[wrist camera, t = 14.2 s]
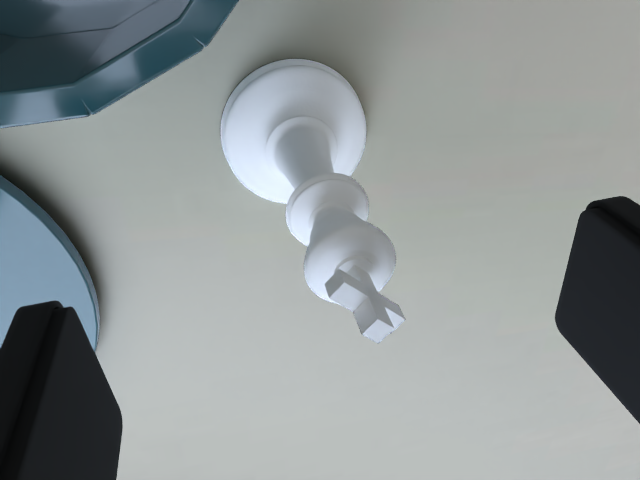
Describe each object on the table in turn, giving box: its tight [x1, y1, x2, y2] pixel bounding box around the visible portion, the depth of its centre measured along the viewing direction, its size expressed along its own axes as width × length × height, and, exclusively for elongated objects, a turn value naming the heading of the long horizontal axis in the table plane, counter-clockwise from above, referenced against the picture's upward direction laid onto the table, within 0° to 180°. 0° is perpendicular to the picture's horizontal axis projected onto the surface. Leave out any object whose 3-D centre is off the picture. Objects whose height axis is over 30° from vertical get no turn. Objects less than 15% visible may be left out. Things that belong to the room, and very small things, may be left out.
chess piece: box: [220, 59, 406, 343], centre depth 13 cm, size 5×5×10 cm
